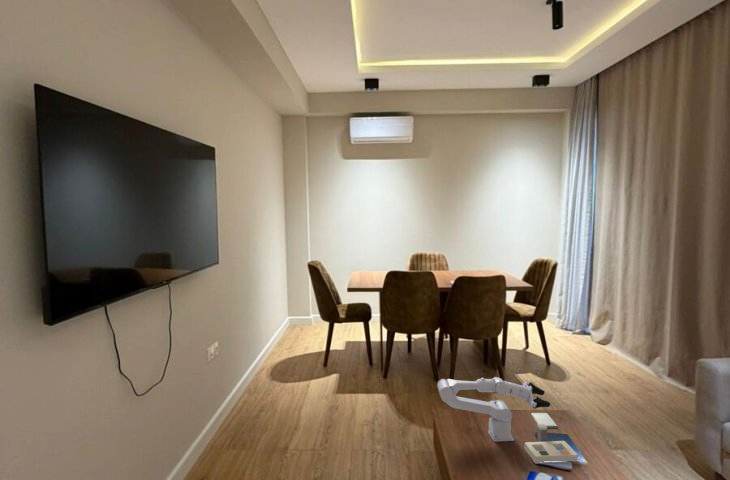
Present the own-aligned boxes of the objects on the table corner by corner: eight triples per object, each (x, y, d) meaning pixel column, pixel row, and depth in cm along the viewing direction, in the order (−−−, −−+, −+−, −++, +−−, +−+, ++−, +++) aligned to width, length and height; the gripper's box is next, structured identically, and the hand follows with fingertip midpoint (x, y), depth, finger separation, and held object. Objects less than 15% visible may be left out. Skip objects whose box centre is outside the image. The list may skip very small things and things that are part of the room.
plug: (540, 444, 170) (540, 427, 169) (537, 441, 173) (537, 424, 172) (547, 444, 170) (547, 427, 169) (543, 440, 173) (543, 423, 172)
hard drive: (557, 425, 183) (547, 412, 195) (540, 425, 183) (531, 412, 196) (557, 429, 183) (547, 415, 195) (540, 428, 184) (531, 415, 196)
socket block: (535, 463, 157) (535, 455, 157) (524, 448, 167) (524, 441, 167) (577, 461, 157) (577, 454, 157) (564, 447, 167) (564, 440, 167)
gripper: (525, 395, 167) (555, 403, 167) (517, 374, 181) (544, 381, 180) (519, 407, 169) (549, 415, 169) (511, 385, 183) (539, 393, 183)
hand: (546, 398), depth 175 cm, fingers open, 7 cm apart
